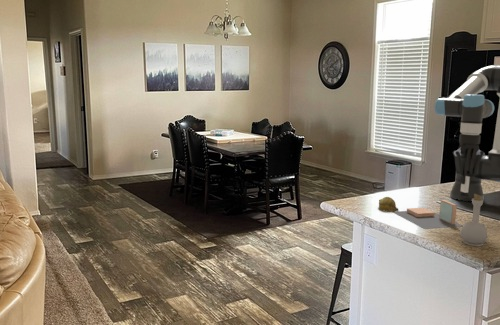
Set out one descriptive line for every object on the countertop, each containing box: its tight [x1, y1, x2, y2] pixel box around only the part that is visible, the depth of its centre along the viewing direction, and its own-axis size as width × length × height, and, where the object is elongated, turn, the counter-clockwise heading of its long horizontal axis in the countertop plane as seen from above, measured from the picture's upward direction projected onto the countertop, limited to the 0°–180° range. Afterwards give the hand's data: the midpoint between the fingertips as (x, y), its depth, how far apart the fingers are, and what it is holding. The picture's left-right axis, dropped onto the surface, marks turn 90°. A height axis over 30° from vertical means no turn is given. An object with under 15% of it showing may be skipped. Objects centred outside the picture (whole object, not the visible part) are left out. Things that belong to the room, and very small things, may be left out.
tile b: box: [439, 199, 458, 224], centre depth 188 cm, size 2×8×8 cm, turn 14°
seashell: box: [378, 196, 399, 213], centre depth 206 cm, size 10×7×8 cm
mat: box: [392, 210, 464, 230], centre depth 192 cm, size 18×24×1 cm
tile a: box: [406, 207, 436, 217], centre depth 198 cm, size 2×8×8 cm
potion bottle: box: [459, 194, 488, 247], centre depth 164 cm, size 9×9×18 cm
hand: (464, 191), depth 188 cm, fingers closed
